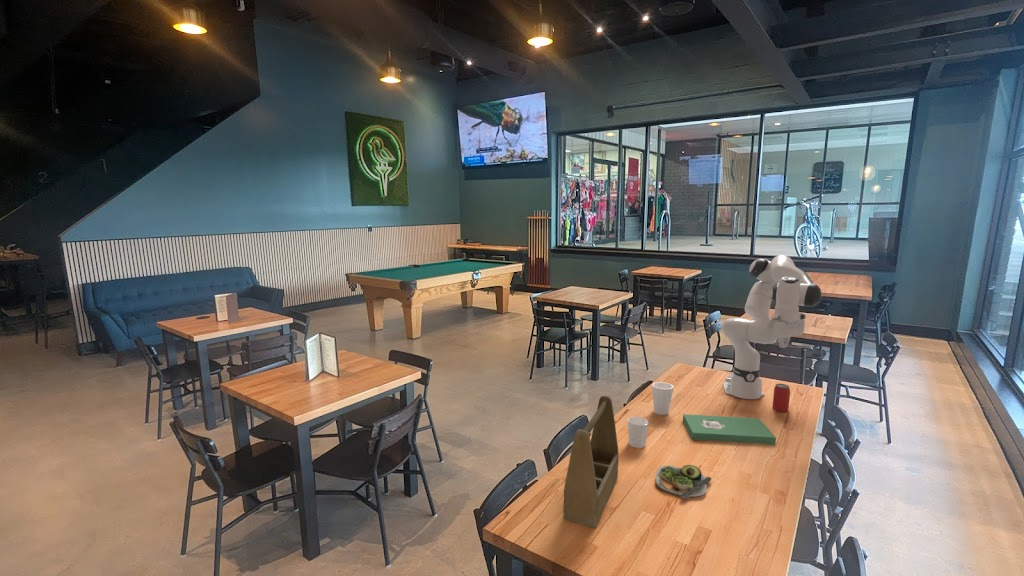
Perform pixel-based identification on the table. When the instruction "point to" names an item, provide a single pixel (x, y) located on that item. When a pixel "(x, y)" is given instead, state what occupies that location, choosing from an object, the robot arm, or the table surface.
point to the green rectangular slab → (728, 429)
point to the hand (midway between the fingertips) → (783, 347)
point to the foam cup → (662, 397)
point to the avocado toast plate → (683, 480)
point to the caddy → (592, 468)
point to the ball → (713, 424)
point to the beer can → (781, 398)
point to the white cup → (637, 431)
